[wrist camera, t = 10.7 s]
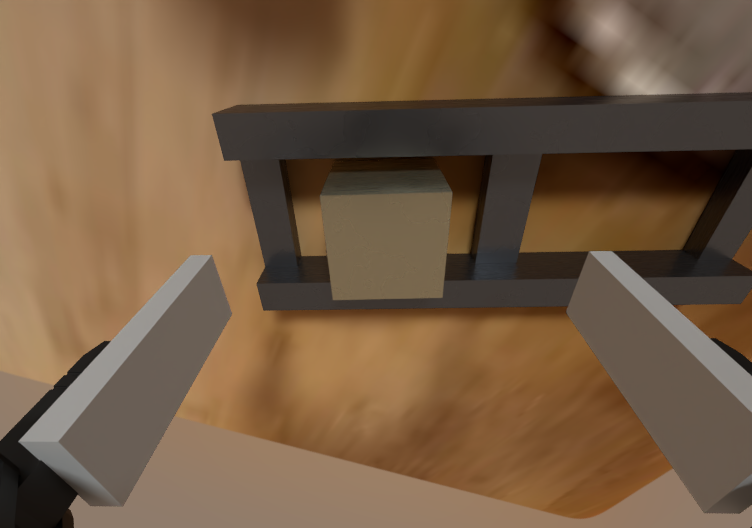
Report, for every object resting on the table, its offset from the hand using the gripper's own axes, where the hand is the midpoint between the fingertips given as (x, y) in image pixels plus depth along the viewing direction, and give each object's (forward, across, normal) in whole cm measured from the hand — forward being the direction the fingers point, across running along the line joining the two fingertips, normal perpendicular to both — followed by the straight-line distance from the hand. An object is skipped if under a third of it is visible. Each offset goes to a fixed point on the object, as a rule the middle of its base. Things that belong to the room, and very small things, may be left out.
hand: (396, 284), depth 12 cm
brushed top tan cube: (+9, 0, -1) cm, 9 cm away
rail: (+9, +6, -1) cm, 11 cm away
